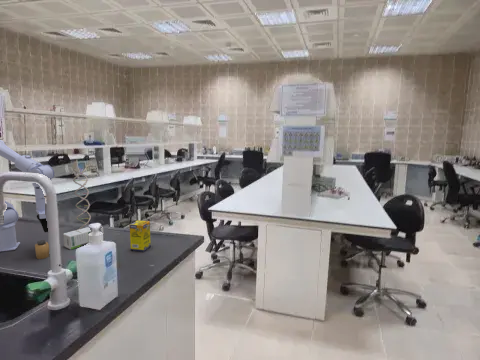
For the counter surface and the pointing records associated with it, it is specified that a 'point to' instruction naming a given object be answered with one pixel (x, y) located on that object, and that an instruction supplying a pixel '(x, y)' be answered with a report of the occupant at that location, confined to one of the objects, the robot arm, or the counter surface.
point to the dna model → (82, 197)
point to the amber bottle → (42, 249)
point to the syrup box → (77, 238)
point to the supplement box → (140, 235)
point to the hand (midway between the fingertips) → (47, 231)
